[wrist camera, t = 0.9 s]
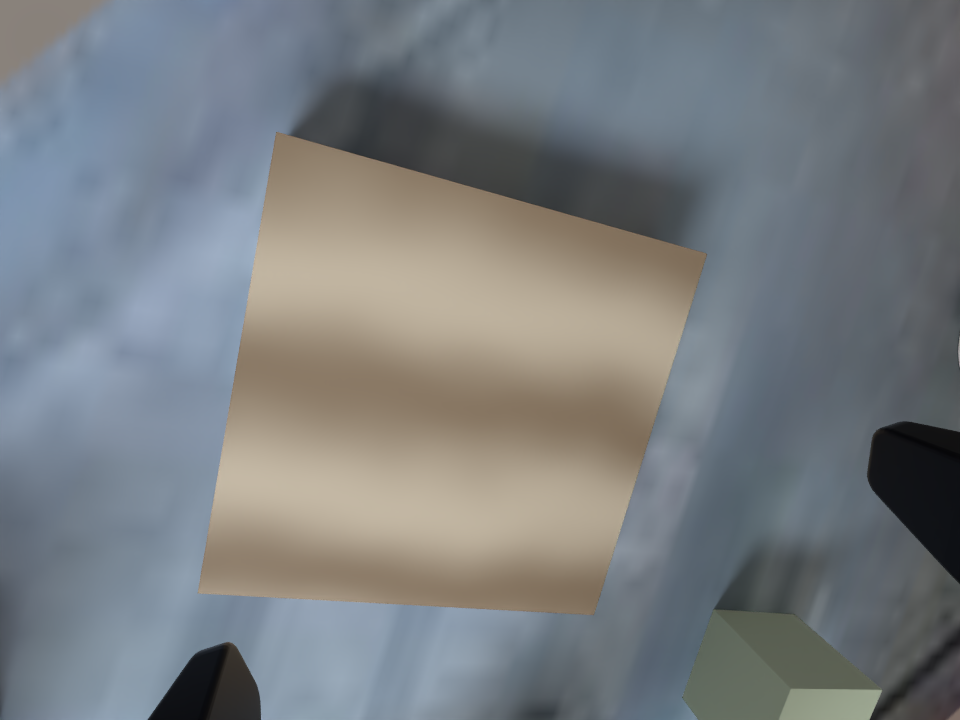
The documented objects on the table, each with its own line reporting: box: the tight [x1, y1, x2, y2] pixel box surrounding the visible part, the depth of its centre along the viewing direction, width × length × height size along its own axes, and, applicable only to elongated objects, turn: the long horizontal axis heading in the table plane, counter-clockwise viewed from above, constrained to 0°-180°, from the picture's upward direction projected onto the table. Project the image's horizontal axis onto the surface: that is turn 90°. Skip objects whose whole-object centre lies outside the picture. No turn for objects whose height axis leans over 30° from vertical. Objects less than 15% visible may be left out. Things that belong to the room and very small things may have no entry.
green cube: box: [682, 609, 882, 720], centre depth 27 cm, size 5×5×5 cm
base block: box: [198, 132, 707, 615], centre depth 20 cm, size 14×14×3 cm
